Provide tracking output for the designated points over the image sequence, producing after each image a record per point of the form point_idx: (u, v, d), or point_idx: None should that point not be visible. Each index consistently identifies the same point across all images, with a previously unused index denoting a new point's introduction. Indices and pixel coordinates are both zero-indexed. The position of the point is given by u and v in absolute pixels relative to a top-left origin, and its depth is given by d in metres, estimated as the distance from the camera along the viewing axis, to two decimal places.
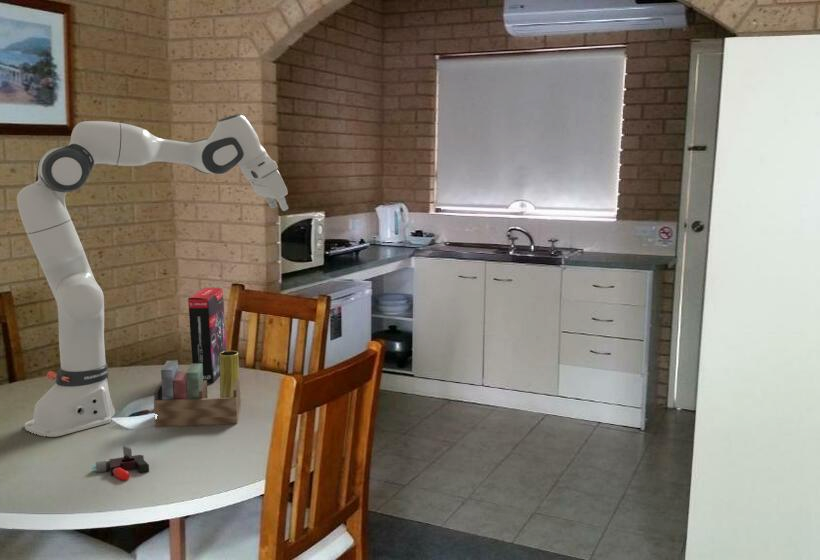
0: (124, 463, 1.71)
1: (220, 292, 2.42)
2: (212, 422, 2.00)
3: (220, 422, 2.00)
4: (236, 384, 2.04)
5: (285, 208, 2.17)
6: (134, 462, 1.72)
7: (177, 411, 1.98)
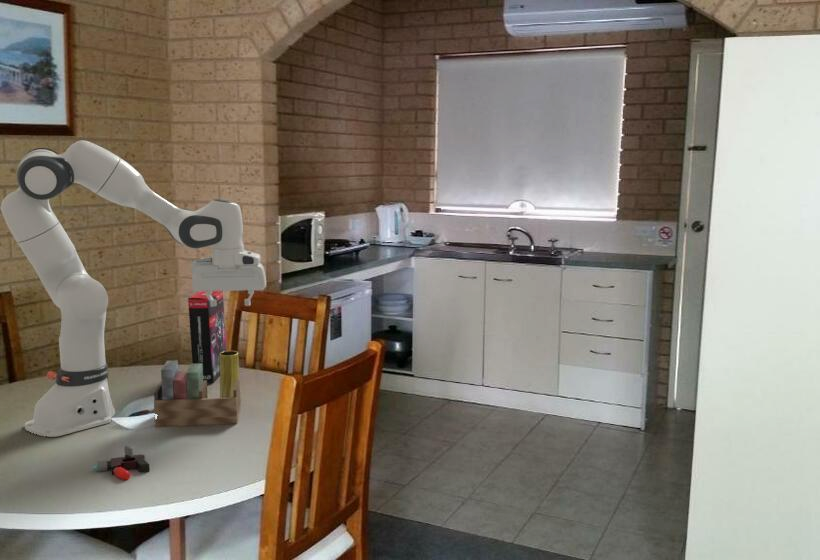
0: (125, 462, 1.71)
1: (220, 292, 2.42)
2: (212, 422, 2.00)
3: (220, 422, 2.00)
4: (236, 384, 2.04)
5: (250, 303, 2.14)
6: (135, 462, 1.72)
7: (177, 411, 1.98)
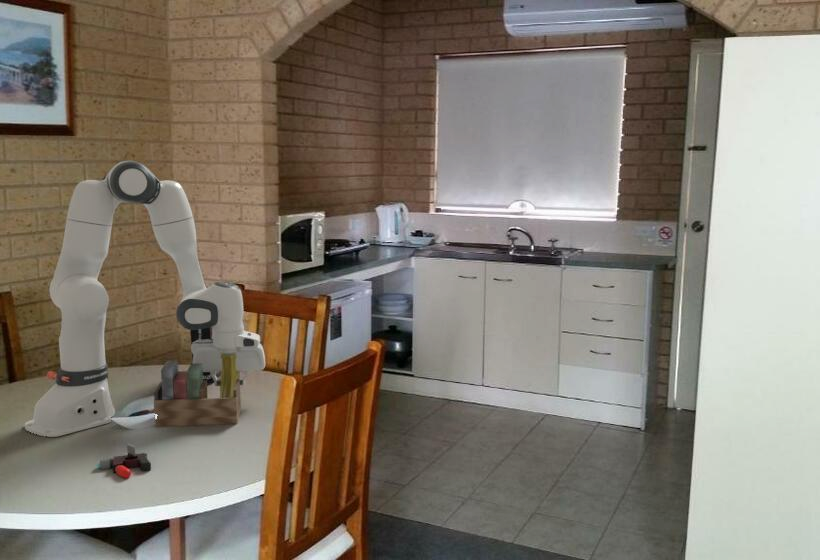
0: (127, 461, 1.72)
1: None
2: (212, 422, 2.00)
3: (220, 422, 2.00)
4: (236, 384, 2.04)
5: (244, 383, 2.18)
6: (137, 460, 1.73)
7: (177, 411, 1.98)
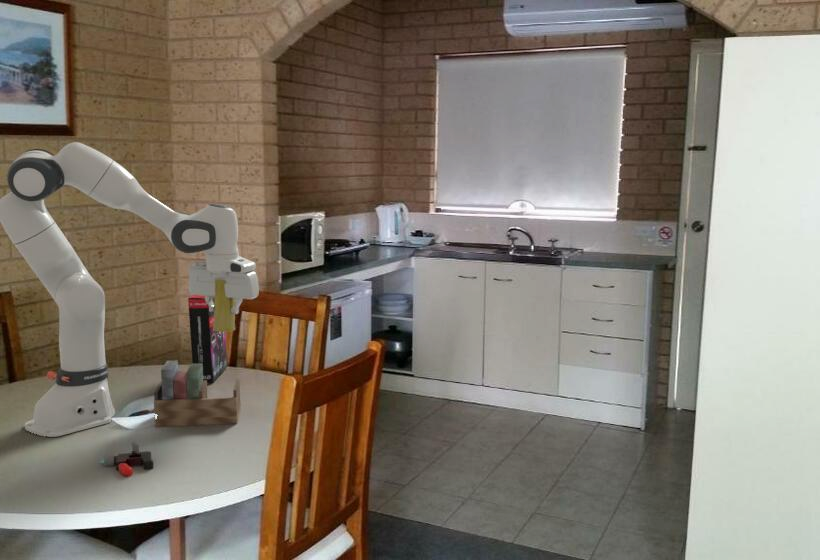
0: (130, 459, 1.73)
1: None
2: (212, 422, 2.00)
3: (220, 422, 2.00)
4: (236, 384, 2.04)
5: (237, 311, 2.09)
6: (140, 458, 1.74)
7: (177, 411, 1.98)
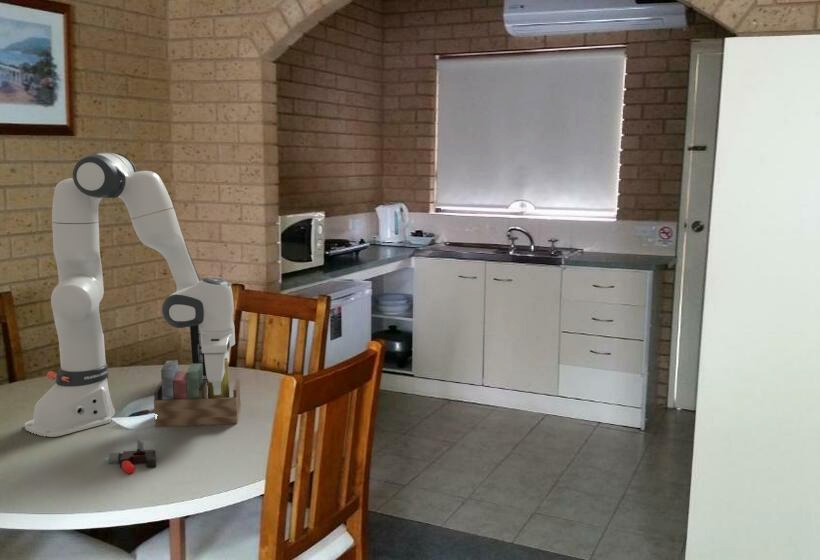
0: (134, 456, 1.75)
1: None
2: (212, 422, 2.00)
3: (220, 422, 2.00)
4: (236, 384, 2.04)
5: (217, 392, 1.99)
6: (144, 456, 1.75)
7: (177, 411, 1.98)
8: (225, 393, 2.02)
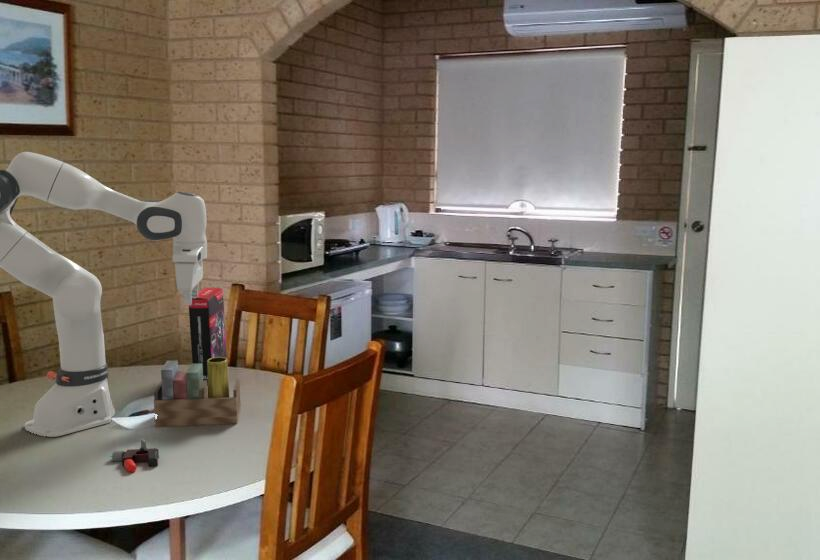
0: (137, 455, 1.76)
1: (220, 292, 2.42)
2: (212, 422, 2.00)
3: (220, 422, 2.00)
4: (236, 384, 2.04)
5: (187, 303, 2.04)
6: (146, 455, 1.76)
7: (177, 411, 1.98)
8: (225, 393, 2.02)
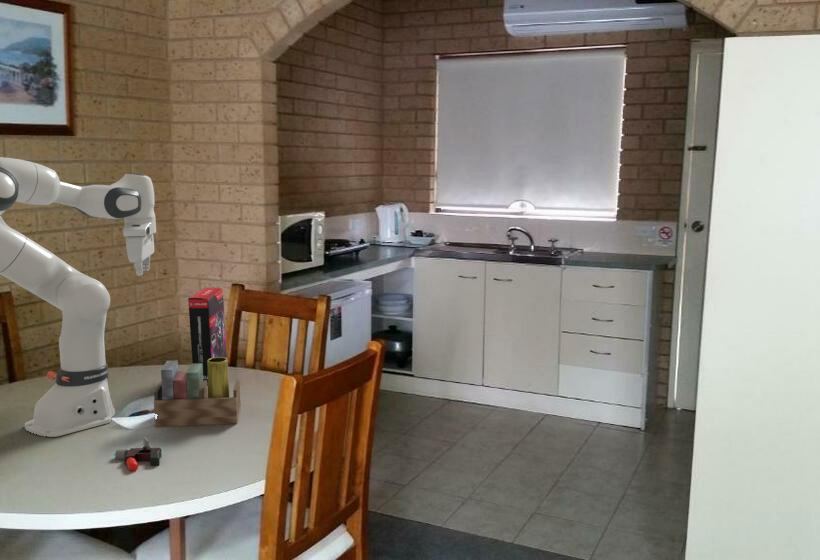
0: (139, 454, 1.76)
1: (220, 292, 2.42)
2: (212, 422, 2.00)
3: (220, 422, 2.00)
4: (236, 384, 2.04)
5: (138, 274, 2.25)
6: (149, 454, 1.76)
7: (177, 411, 1.98)
8: (225, 393, 2.02)
